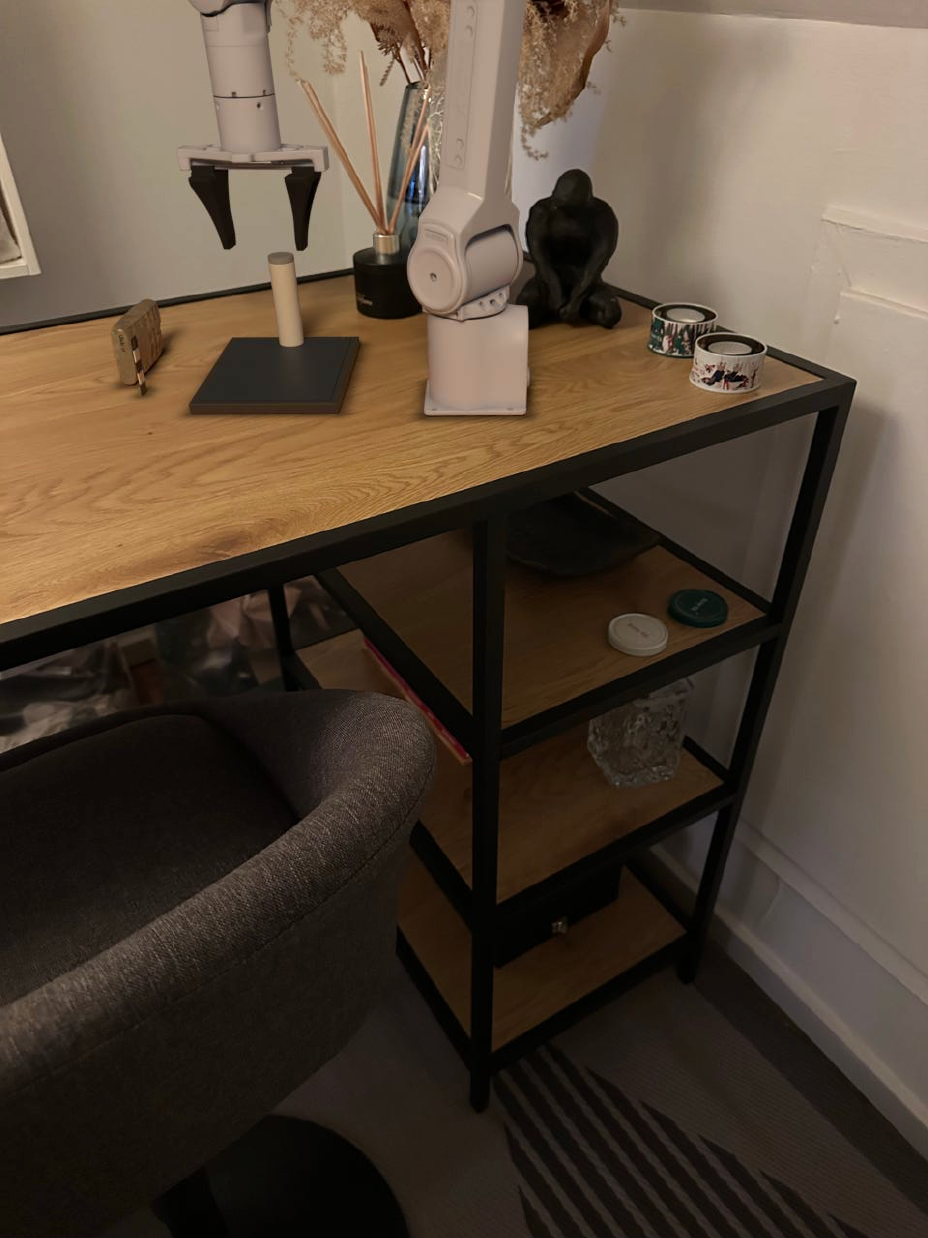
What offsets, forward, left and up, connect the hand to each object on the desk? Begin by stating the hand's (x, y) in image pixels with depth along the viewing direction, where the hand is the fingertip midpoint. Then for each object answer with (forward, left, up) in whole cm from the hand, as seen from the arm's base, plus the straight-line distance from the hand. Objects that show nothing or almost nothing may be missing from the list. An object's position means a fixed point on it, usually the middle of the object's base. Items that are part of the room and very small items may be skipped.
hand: (266, 247), depth 89 cm
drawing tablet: (-2, +9, -10) cm, 14 cm away
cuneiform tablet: (+13, +7, -10) cm, 18 cm away
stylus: (-2, +2, -9) cm, 10 cm away
